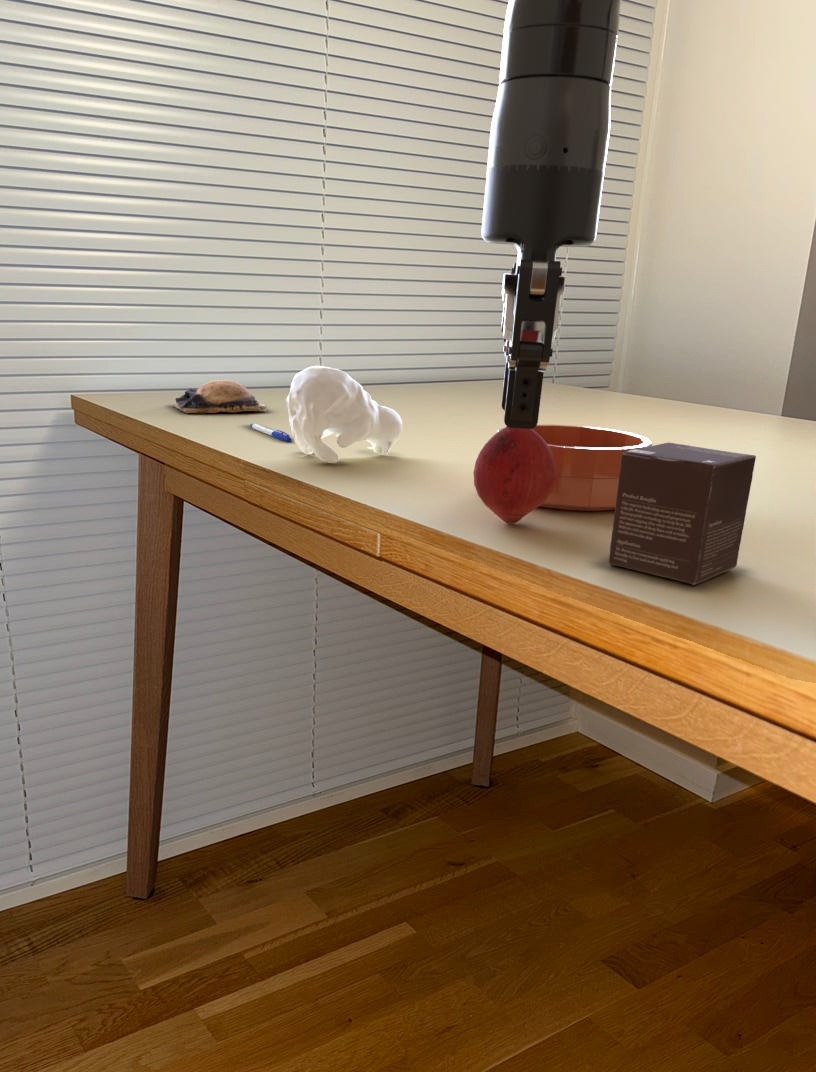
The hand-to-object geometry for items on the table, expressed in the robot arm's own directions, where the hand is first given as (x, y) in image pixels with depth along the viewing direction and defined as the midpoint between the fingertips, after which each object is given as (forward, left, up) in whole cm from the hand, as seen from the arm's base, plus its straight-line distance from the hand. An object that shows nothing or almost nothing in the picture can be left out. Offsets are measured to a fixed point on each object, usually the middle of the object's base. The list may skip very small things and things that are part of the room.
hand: (517, 419), depth 68 cm
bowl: (-5, -11, -8) cm, 14 cm away
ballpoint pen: (+25, -34, -8) cm, 43 cm away
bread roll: (+35, -51, -8) cm, 62 cm away
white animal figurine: (+15, -23, -8) cm, 28 cm away
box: (-10, +9, -8) cm, 16 cm away
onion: (0, 0, -8) cm, 8 cm away
